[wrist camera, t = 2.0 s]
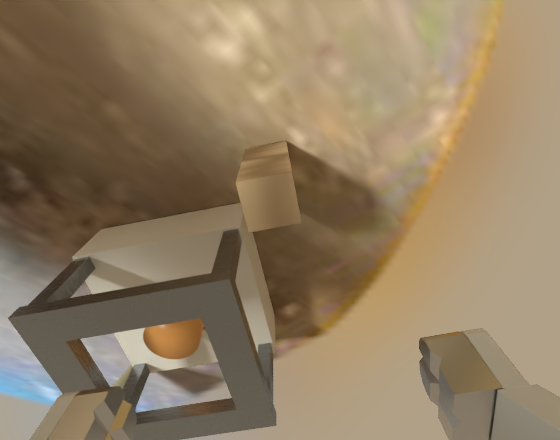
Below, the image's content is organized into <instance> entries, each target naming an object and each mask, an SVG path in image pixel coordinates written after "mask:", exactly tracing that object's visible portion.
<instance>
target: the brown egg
mask: <svg viewBox="0 0 560 440" xmlns="http://www.w3.org/2000/svg"><path fill="white" fill-rule="evenodd" d="M203 328H204V325H203V322H202V320H201V318H199V319H194V320H188V321H182V322H176V323H170V324H164V325H158V326H152V327H146V328H145V330H144V333H143V340H144V343H145V345H146V346H147V348H148V349H149V350H150V351H151V352H153V353H154V354H156V355H158V356H160V357H163V358H167V359H182V358H186V357H188V356H190V355H192V354H193V353H194V352H195V351H196V350H197V349H198V347H199V344H200V340H201V336H202V332H203Z"/></svg>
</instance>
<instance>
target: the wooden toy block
mask: <svg viewBox="0 0 560 440" xmlns="http://www.w3.org/2000/svg"><path fill="white" fill-rule="evenodd" d="M235 183H236V187H237V191H238V194H239V198H240V202H241V206H242V209H243V213H244V217H245V221H246V224H247V228H248V232H249V233H250V232H255V231H261V230H266V229H272V228H277V227H282V226H288V225H293V224H299V223H301V217H300V212H299V206H298V201H297V196H296V190H295V185H294V179H293V174H292V169H291V164H290V158H289V153H288V148H287V143H286V141H282V142H277V143H272V144H267V145H262V146H257V147H252V148H247V149H246V150H245V153H244V157H243V160H242V163H241V166H240V169H239V173H238V176H237V179H236V182H235Z"/></svg>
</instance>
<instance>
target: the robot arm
mask: <svg viewBox="0 0 560 440" xmlns="http://www.w3.org/2000/svg"><path fill="white" fill-rule="evenodd" d="M419 349H420V351H421V353H422V355H423V358H422V359H421V360H420V372H421V377H422V381H423V384H424V386H425V389H426V392H427V394H428V396H429V398H430V400H431V401H432V402H434V403H435V404H436V405H438V409H439V410H438V412H439V413H438V416H439V417H438V418H439V420H440V422H441V424H442V426H443V428H444V430H445V432H446V435H447V437H448V439H449V440H560V397H559V396H557V395H555V394H553V393H551V392H550V391H548V390H546V389H544V388H542V387H541V386H539V385H529V383H528V382H527V381H526V380H525V379H524V377H523V376H522V375H521V374H520V372H519V371H518V370H517V369H516V367H515V366H514V365H513V364H512V362H511V361H510V360H509V359H508V358H507V356H506V355H505V354H504V353H503V351H502V350H501V349H500V348H499V347H498V345H497V344H496V343H495V341H494V340H493V339H492V338H491V337H490V335H489V334H488V333H487V332H486V331H485V330H483V329H482V328H480V329H474V330H468V331H461V332H453V333H447V334H441V335H436V336H430V337H424V338H421V339H420V341H419ZM124 396H125V393H124V391H123V390H122V388H121V387H120V386H114V387H106V388H98V389H90V390H82V391H76V392H69V393H64V394H62V395H61V396H60V397H58V398H57V399H56V401H55V402H54V404H53V405H52V407H51V409H50V410H49V412H48V413H47V415H46V416H45V418H44V419H43V421H42V422H41V424H40V425H39V427H38V428H37V430H36V431H35V433H34V434H33V436H32V437H31V439H30V440H133V437H134V434H135V432H136V424H137V416H136V412H135V409H134V407H133V406H132V404H130V403H128V402H126V401H124V400H123V399H124Z"/></svg>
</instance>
